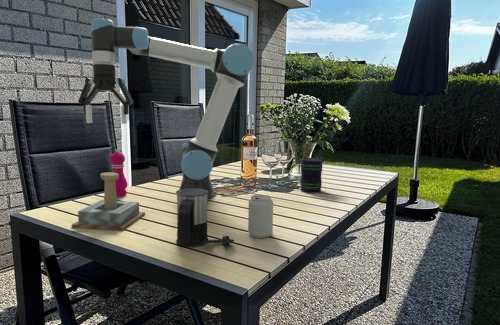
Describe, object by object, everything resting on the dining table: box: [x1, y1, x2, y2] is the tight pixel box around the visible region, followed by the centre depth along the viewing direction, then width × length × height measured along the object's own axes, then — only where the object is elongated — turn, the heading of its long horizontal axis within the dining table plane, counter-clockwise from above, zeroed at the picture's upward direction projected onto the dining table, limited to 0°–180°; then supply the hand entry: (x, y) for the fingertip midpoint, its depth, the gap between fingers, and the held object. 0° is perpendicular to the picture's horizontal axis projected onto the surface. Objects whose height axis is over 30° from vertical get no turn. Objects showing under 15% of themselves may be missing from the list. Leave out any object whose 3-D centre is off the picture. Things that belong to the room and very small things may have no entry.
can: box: [247, 194, 274, 239], centre depth 110 cm, size 8×8×12 cm
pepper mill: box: [109, 148, 128, 198], centre depth 155 cm, size 7×7×20 cm
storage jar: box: [299, 157, 323, 194], centre depth 169 cm, size 10×10×15 cm
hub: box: [71, 199, 146, 232], centre depth 121 cm, size 17×17×5 cm
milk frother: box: [175, 188, 235, 247], centre depth 102 cm, size 14×16×15 cm
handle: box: [99, 171, 119, 210], centre depth 120 cm, size 5×6×15 cm
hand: (106, 123), depth 134 cm, fingers open, 13 cm apart
